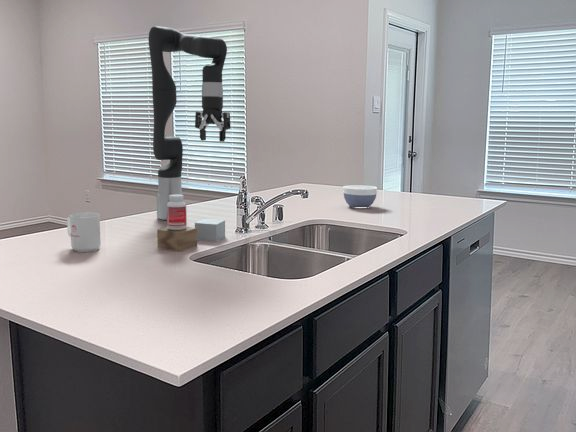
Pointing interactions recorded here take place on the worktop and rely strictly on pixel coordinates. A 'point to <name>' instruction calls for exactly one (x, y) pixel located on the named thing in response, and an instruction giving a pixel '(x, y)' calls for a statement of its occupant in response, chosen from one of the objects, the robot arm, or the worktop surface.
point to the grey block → (210, 230)
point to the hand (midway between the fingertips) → (212, 140)
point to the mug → (84, 231)
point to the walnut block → (177, 238)
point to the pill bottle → (176, 212)
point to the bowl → (359, 195)
